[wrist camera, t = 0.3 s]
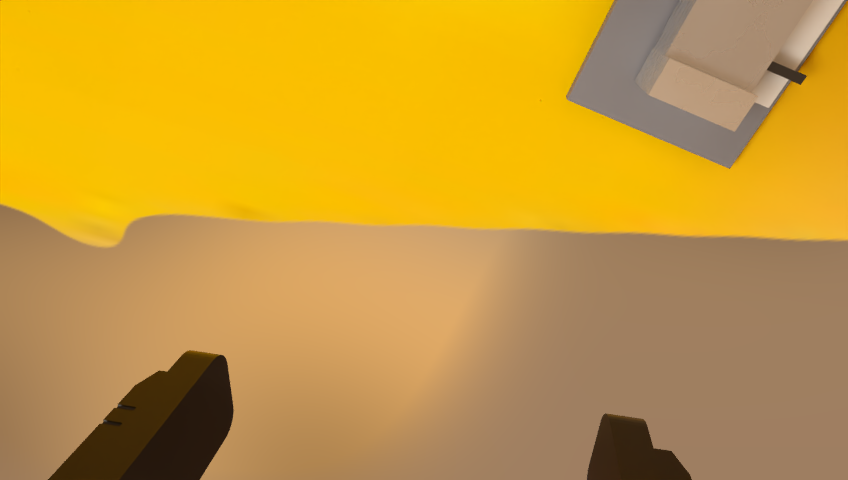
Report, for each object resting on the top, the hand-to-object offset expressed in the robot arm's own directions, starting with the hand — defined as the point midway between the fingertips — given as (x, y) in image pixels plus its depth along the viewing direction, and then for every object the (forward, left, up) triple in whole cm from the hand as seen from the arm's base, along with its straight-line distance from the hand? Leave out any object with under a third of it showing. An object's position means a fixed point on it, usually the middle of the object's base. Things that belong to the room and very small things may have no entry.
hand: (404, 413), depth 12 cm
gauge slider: (-10, +11, -26) cm, 30 cm away
